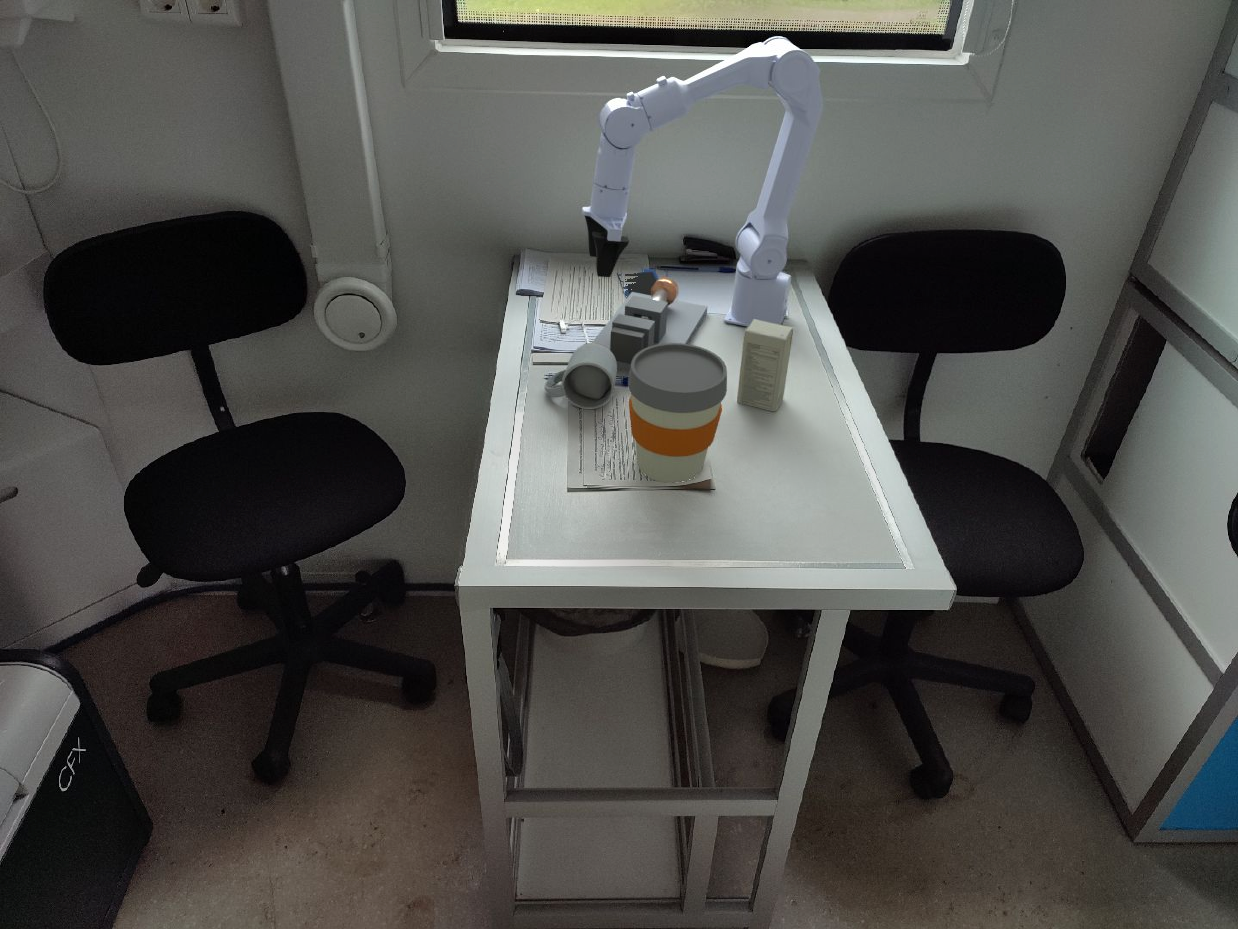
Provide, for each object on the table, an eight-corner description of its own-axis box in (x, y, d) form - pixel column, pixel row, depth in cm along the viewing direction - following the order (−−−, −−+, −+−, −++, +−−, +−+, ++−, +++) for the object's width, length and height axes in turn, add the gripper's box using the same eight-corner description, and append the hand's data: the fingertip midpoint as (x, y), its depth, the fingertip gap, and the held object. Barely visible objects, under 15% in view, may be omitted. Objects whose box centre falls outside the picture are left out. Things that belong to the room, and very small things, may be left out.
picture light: (591, 349, 140) (591, 338, 139) (565, 351, 140) (565, 340, 138) (580, 310, 151) (579, 299, 150) (555, 311, 151) (555, 300, 149)
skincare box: (783, 399, 130) (796, 327, 122) (775, 413, 127) (788, 340, 119) (743, 388, 132) (753, 316, 124) (734, 401, 129) (744, 329, 121)
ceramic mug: (617, 382, 132) (618, 338, 127) (613, 411, 125) (614, 366, 121) (549, 378, 132) (547, 334, 128) (541, 407, 126) (539, 362, 121)
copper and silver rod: (677, 303, 149) (679, 279, 146) (655, 335, 139) (657, 310, 137) (653, 298, 150) (655, 275, 147) (630, 330, 140) (631, 305, 138)
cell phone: (654, 272, 165) (654, 268, 164) (668, 305, 154) (669, 301, 154) (616, 273, 164) (616, 269, 163) (628, 306, 153) (628, 302, 152)
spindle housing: (706, 314, 151) (710, 277, 147) (667, 380, 133) (670, 340, 128) (631, 299, 154) (633, 263, 150) (582, 362, 136) (583, 322, 132)
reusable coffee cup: (605, 455, 117) (608, 359, 108) (675, 425, 123) (684, 332, 114) (663, 504, 109) (673, 405, 100) (735, 469, 115) (750, 373, 106)
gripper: (579, 165, 137) (569, 245, 145) (594, 198, 125) (582, 283, 133) (622, 169, 138) (610, 248, 146) (640, 202, 127) (626, 286, 135)
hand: (599, 265), depth 140 cm, fingers open, 7 cm apart
